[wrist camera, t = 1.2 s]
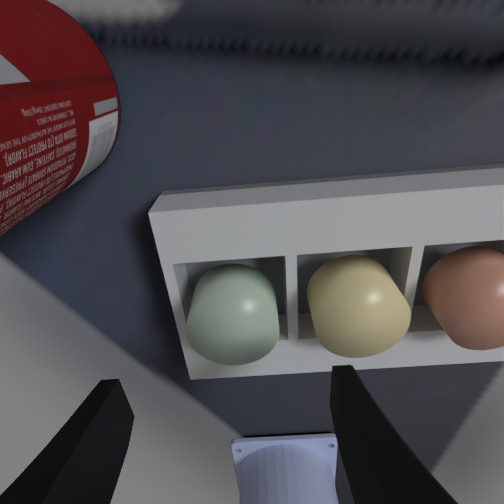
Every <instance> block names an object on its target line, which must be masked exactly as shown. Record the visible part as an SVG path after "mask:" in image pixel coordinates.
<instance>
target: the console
mask: <svg viewBox="0 0 504 504" xmlns="http://www.w3.org/2000/svg"><path fill="white" fill-rule="evenodd" d="M148 215H149V219H150V223H151V227H152V231H153V234H154V238H155V242H156V246H157V250H158V254H159V258H160V262H161V266H162V270H163V274H164V278H165V282H166V286H167V290H168V294H169V298H170V301H171V305H172V309H173V313H174V317H175V321H176V325H177V329H178V333H179V337H180V341H181V345H182V349H183V353H184V357H185V361H186V365H187V368H188V372H189V376H190V380H192V379H208V378H225V377H242V376H258V375H275V374H292V373H308V372H325V371H332V366H337V365H352V366H353V367H354V368H355V370H358V369H375V368H392V367H408V366H425V365H442V364H458V363H475V362H492V361H504V346H503V347H499V348H496V349H490V350H470V349H466V348H463V347H460V346H458V345H457V344H455V343H454V342H453V341H452V340H451V339H450V338H449V336H448V335H447V333H446V332H445V331H444V329H443V328H442V326H441V325H440V324H439V322H438V321H437V319H436V318H435V317H434V315H433V314H432V312H431V311H430V310H429V308H428V307H427V305H426V304H425V303H424V301H423V299H422V295H421V286H422V282H423V280H424V277H425V275H426V274H427V272H428V271H429V269H430V268H431V267H432V266H433V265H434V264H435V263H436V262H437V261H438V260H439V259H441V258H442V257H444V256H445V255H447V254H449V253H451V252H453V251H455V250H458V249H461V248H464V247H469V246H487V247H491V248H493V249H496V250H497V251H499V252H500V253H502V254H503V255H504V163H502V164H489V165H477V166H465V167H452V168H440V169H428V170H415V171H403V172H391V173H379V174H366V175H354V176H342V177H329V178H317V179H305V180H292V181H280V182H268V183H255V184H243V185H231V186H218V187H206V188H194V189H181V190H169V191H162V192H161V194H160V195H159V197H158V198H157V200H156V201H155V203H154V204H153V206H152V207H151V209H150V210H149V212H148ZM345 255H363V256H368V257H370V258H373V259H375V260H377V261H378V262H379V263H381V264H382V265H383V266H384V267H385V269H386V270H387V272H388V273H389V275H390V276H391V278H392V279H393V281H394V283H395V284H396V286H397V287H398V289H399V290H400V292H401V293H402V295H403V296H404V298H405V300H406V301H407V303H408V305H409V307H410V311H411V321H410V325H409V327H408V330H407V331H406V333H405V335H404V336H403V337H402V338H401V339H400V340H399V341H398V342H397V343H396V344H395V345H394V346H392V347H391V348H389V349H387V350H385V351H383V352H381V353H379V354H376V355H373V356H369V357H363V358H347V357H342V356H338V355H336V354H333V353H331V352H329V351H328V350H326V349H325V348H324V347H323V346H322V345H321V344H320V342H319V341H318V339H317V337H316V333H315V329H314V325H313V321H312V316H311V312H310V308H309V304H308V300H307V287H308V283H309V281H310V279H311V277H312V276H313V274H314V273H315V272H316V271H317V270H318V269H319V268H320V267H321V266H322V265H323V264H325V263H327V262H328V261H330V260H332V259H335V258H337V257H341V256H345ZM231 263H237V264H244V265H248V266H251V267H254V268H256V269H258V270H260V271H261V272H262V273H264V274H265V275H266V276H267V277H268V278H269V279H270V281H271V282H272V284H273V286H274V289H275V293H276V302H277V311H278V320H279V338H278V341H277V343H276V345H275V347H274V348H273V349H272V351H271V352H270V353H269V354H267V355H266V356H265V357H263V358H261V359H260V360H257V361H255V362H252V363H249V364H244V365H223V364H219V363H215V362H212V361H210V360H208V359H206V358H204V357H202V356H201V355H200V354H198V353H197V352H196V351H195V350H194V349H193V348H192V346H191V345H190V343H189V341H188V339H187V336H186V324H187V319H188V315H189V311H190V307H191V303H192V298H193V294H194V290H195V287H196V284H197V282H198V281H199V279H200V278H201V277H202V276H203V275H204V274H205V273H206V272H207V271H209V270H210V269H212V268H214V267H217V266H220V265H224V264H231Z"/></svg>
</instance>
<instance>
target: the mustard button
mask: <svg viewBox="0 0 504 504" xmlns="http://www.w3.org/2000/svg"><path fill="white" fill-rule="evenodd" d="M307 300H308V304H309V308H310V312H311V316H312V321H313V325H314V329H315V333H316V337H317V339H318V341H319V342H320V344H321V345H322V346H323V347H324V348H325V349H326V350H328V351H329V352H331V353H333V354H336V355H338V356H342V357H347V358H363V357H369V356H373V355H376V354H379V353H381V352H383V351H385V350H387V349H389V348H391V347H392V346H394V345H395V344H396V343H397V342H398V341H399V340H400V339H401V338H402V337H403V336H404V335H405V333H406V331H407V330H408V327H409V325H410V321H411V311H410V307H409V305H408V303H407V301H406V300H405V298H404V296H403V295H402V293H401V292H400V290H399V289H398V287H397V286H396V284H395V283H394V281H393V279H392V278H391V276H390V275H389V273H388V272H387V270H386V269H385V267H384V266H383V265H382V264H381V263H379V262H378V261H377V260H375V259H373V258H370V257H368V256H363V255H345V256H341V257H337V258H335V259H332V260H330V261H328V262H327V263H325V264H323V265H322V266H321V267H320V268H319V269H318V270H317V271H316V272H315V273H314V274H313V276H312V277H311V279H310V281H309V283H308V287H307Z"/></svg>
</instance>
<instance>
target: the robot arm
mask: <svg viewBox="0 0 504 504" xmlns="http://www.w3.org/2000/svg"><path fill="white" fill-rule="evenodd" d="M330 408H331V413H332V419H333V425H334V430H335V434H333V433H327V434H308V435H289V436H270V437H252V438H236V439H233V440H232V441H231V451H232V456H233V461H234V466H235V472H236V477H237V481H238V487H239V492H240V504H338V499H337V494H336V489H335V473H336V459H337V446H338V447H339V450H340V454H341V457H342V461H343V464H344V468H345V471H346V475H347V478H348V482H349V485H350V489H351V492H352V495H353V499H354V502H355V504H458V503H457V502H456V501H455V500H454V499H453V498H452V496H451V495H450V494H449V493H448V492H447V491H446V490H445V489H444V488H443V487H442V486H441V484H440V483H439V482H438V481H437V480H436V479H435V478H434V477H433V475H432V474H431V473H430V472H429V471H428V470H427V468H426V467H425V466H424V465H423V464H422V463H421V461H420V460H419V459H418V458H417V456H416V455H415V454H414V453H413V452H412V450H411V449H410V448H409V447H408V445H407V444H406V443H405V442H404V440H403V439H402V438H401V436H400V435H399V434H398V432H397V431H396V430H395V428H394V427H393V426H392V424H391V423H390V422H389V420H388V419H387V418H386V416H385V415H384V413H383V412H382V411H381V409H380V408H379V406H378V405H377V403H376V402H375V400H374V399H373V397H372V396H371V394H370V393H369V391H368V390H367V388H366V387H365V385H364V384H363V382H362V380H361V379H360V377H359V375H358V374H357V372H356V370H355V368H354V367H353V366H352V365H337V366H332V377H331V395H330ZM133 421H134V414H133V412H132V409H131V407H130V404H129V402H128V400H127V398H126V395H125V392H124V390H123V388H122V386H121V383H120V381H119V379H110V380H101V381H100V382H99V383H98V384H97V386H96V387H95V388H94V389H93V390H92V392H91V393H90V394H89V395H88V397H87V398H86V399H85V400H84V401H83V403H82V404H81V405H80V406H79V408H78V409H77V410H76V411H75V413H74V414H73V415H72V416H71V417H70V419H69V420H68V421H67V422H66V423H65V425H64V426H63V427H62V428H61V429H60V430H59V432H58V433H57V434H56V435H55V436H54V438H53V439H52V440H51V441H50V442H49V443H48V445H47V446H46V447H45V448H44V449H43V450H42V451H41V453H40V454H39V455H38V456H37V457H36V458H35V459H34V460H33V461H32V462H31V464H30V465H29V466H28V467H27V468H26V469H25V470H24V471H23V472H22V473H21V474H20V476H19V477H18V478H17V479H16V480H15V481H14V482H13V483H12V484H11V485H10V486H9V487H8V488H7V489H6V490H5V491H4V492H3V493H2V494H1V495H0V504H110V502H111V499H112V496H113V493H114V490H115V487H116V484H117V481H118V478H119V475H120V472H121V468H122V465H123V462H124V459H125V456H126V453H127V449H128V445H129V441H130V436H131V431H132V426H133Z"/></svg>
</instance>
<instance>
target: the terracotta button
mask: <svg viewBox="0 0 504 504" xmlns="http://www.w3.org/2000/svg"><path fill="white" fill-rule="evenodd" d="M421 295H422V299H423V301H424V303H425V304H426V305H427V307H428V308H429V310H430V311H431V312H432V314H433V315H434V317H435V318H436V319H437V321H438V322H439V324H440V325H441V326H442V328H443V329H444V331H445V332H446V333H447V335H448V336H449V338H450V339H451V340H452V341H453V342H454V343H455V344H457V345H458V346H460V347H463V348H466V349H470V350H490V349H496V348H499V347H503V346H504V255H503V254H502V253H500V252H499V251H497V250H496V249H493V248H491V247H487V246H469V247H464V248H461V249H458V250H455V251H453V252H451V253H449V254H447V255H445V256H444V257H442V258H441V259H439V260H438V261H437V262H436V263H435V264H434V265H433V266H432V267H431V268H430V269H429V271H428V272H427V274H426V275H425V277H424V280H423V282H422V286H421Z"/></svg>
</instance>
